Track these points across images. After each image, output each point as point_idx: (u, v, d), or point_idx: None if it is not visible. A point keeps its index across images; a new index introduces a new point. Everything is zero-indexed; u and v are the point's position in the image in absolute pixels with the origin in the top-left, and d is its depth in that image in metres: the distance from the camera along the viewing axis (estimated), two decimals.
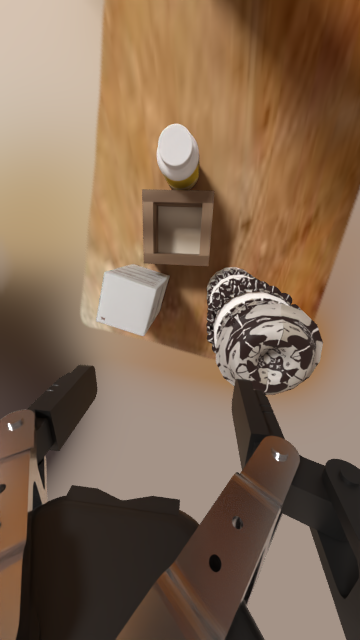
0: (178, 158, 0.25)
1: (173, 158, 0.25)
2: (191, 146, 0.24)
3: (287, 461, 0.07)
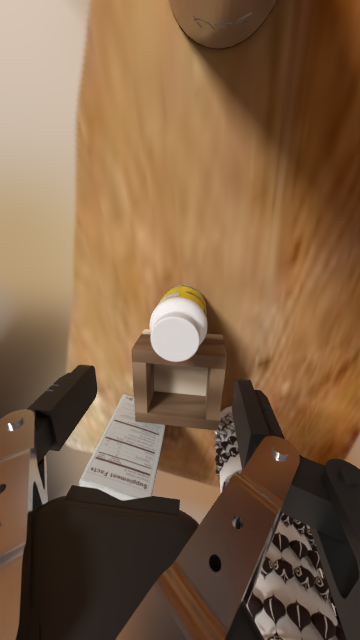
0: (179, 354, 0.17)
1: (172, 354, 0.17)
2: (198, 343, 0.17)
3: (287, 461, 0.07)
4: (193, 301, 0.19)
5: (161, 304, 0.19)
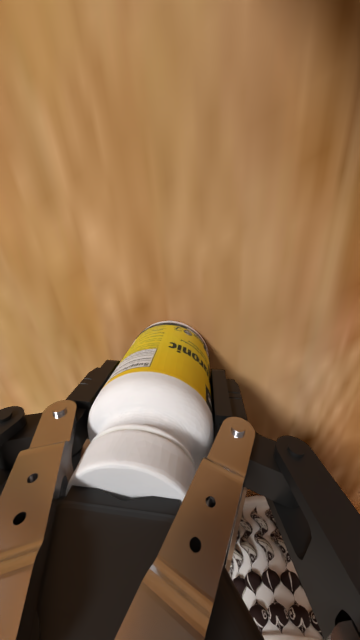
0: None
1: None
2: None
3: (243, 437, 0.08)
4: (182, 380, 0.09)
5: (109, 389, 0.08)
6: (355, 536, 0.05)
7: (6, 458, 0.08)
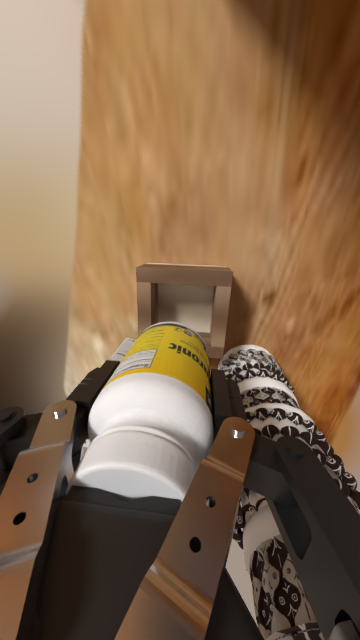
0: None
1: None
2: None
3: (243, 437, 0.08)
4: (182, 381, 0.09)
5: (109, 390, 0.08)
6: (356, 536, 0.05)
7: (6, 458, 0.08)
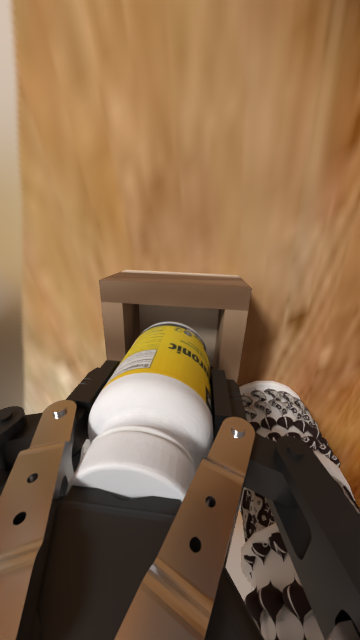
0: None
1: None
2: None
3: (243, 437, 0.08)
4: (182, 381, 0.09)
5: (109, 390, 0.08)
6: (355, 536, 0.05)
7: (6, 458, 0.08)
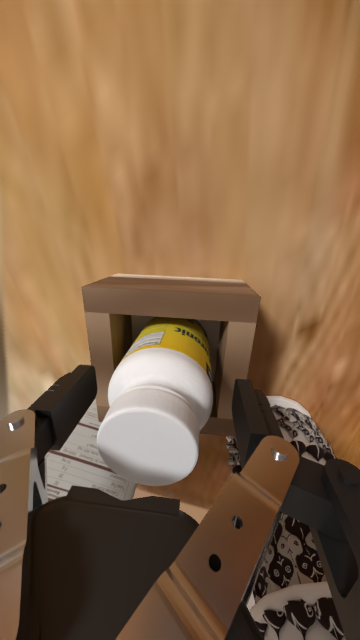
0: (157, 475, 0.08)
1: (142, 473, 0.08)
2: (195, 458, 0.08)
3: (287, 461, 0.07)
4: (187, 354, 0.10)
5: (127, 362, 0.10)
6: None
7: None
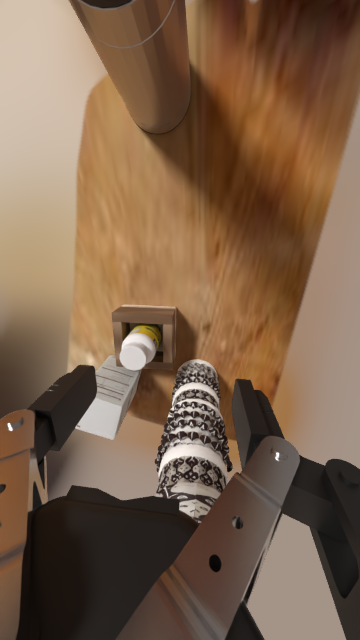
0: (136, 366, 0.31)
1: (132, 366, 0.31)
2: (145, 360, 0.30)
3: (287, 461, 0.07)
4: (146, 335, 0.33)
5: (127, 337, 0.33)
6: None
7: None
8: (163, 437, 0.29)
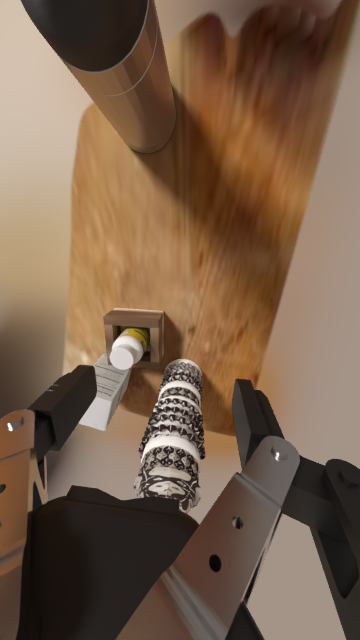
0: (124, 366, 0.34)
1: (120, 366, 0.34)
2: (132, 360, 0.34)
3: (287, 461, 0.07)
4: (134, 337, 0.36)
5: (117, 339, 0.36)
6: None
7: None
8: (147, 429, 0.33)
